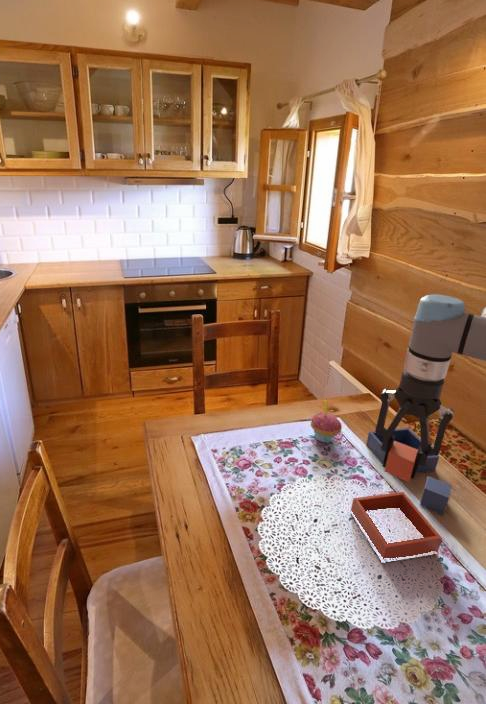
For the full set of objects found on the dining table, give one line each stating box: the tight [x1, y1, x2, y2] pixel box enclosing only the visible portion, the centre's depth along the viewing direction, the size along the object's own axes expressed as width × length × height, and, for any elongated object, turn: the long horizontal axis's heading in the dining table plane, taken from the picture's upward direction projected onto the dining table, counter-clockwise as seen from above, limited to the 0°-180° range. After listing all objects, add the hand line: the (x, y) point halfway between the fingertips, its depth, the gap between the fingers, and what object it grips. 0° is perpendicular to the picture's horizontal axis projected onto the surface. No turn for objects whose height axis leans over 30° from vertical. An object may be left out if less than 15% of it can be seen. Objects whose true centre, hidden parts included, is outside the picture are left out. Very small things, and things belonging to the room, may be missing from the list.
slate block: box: [419, 475, 452, 516], centre depth 95 cm, size 5×5×5 cm
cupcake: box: [310, 399, 343, 443], centre depth 115 cm, size 9×8×12 cm
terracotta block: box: [384, 441, 418, 482], centre depth 87 cm, size 5×5×5 cm
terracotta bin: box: [350, 491, 443, 559], centre depth 86 cm, size 13×13×4 cm
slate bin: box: [365, 427, 440, 477], centre depth 110 cm, size 13×13×4 cm
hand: (399, 469), depth 87 cm, fingers closed on terracotta block, 5 cm apart
